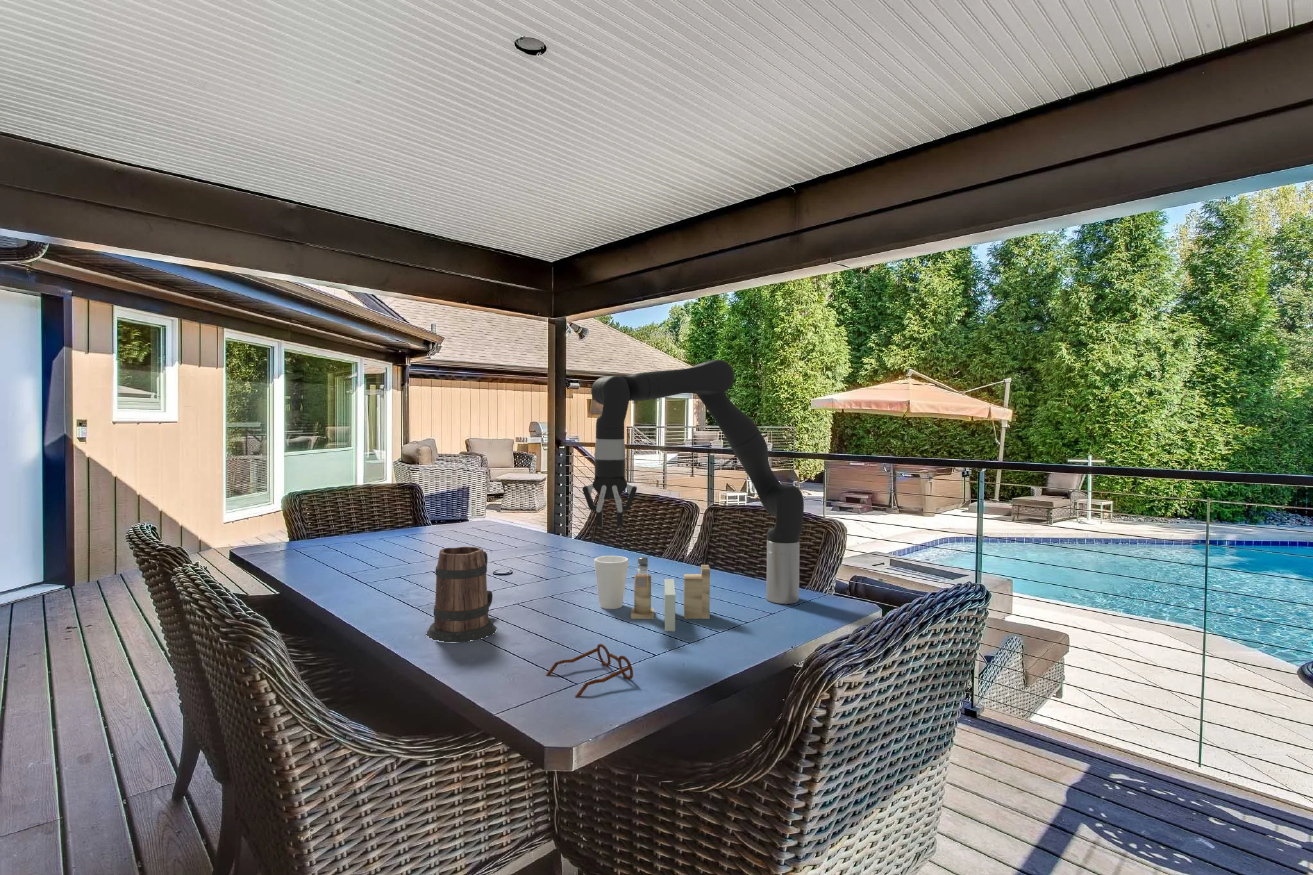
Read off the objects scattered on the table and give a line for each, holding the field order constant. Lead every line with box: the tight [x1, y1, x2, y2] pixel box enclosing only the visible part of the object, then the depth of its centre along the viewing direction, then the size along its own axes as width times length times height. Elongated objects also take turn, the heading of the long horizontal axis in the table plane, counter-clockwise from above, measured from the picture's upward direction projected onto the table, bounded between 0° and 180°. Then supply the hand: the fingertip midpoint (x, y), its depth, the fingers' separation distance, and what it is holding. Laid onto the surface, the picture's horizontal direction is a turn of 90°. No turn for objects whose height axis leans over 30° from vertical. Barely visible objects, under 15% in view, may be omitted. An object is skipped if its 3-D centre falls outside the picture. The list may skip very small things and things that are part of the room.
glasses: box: [545, 643, 634, 698], centre depth 130 cm, size 13×13×5 cm
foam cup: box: [593, 555, 629, 610], centre depth 181 cm, size 10×9×13 cm
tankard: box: [426, 546, 498, 643], centre depth 161 cm, size 24×17×20 cm
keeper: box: [683, 564, 711, 620], centre depth 172 cm, size 5×6×13 cm
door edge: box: [663, 578, 676, 632], centre depth 167 cm, size 16×2×9 cm, turn 0°
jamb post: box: [630, 574, 655, 620], centre depth 172 cm, size 6×6×10 cm
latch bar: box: [634, 556, 649, 589], centre depth 166 cm, size 16×3×5 cm, turn 0°
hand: (609, 526), depth 161 cm, fingers open, 3 cm apart
